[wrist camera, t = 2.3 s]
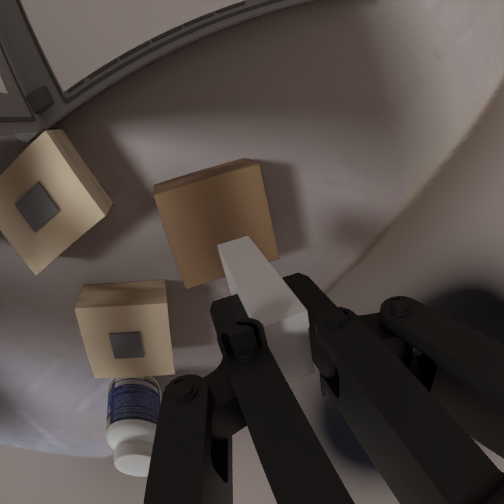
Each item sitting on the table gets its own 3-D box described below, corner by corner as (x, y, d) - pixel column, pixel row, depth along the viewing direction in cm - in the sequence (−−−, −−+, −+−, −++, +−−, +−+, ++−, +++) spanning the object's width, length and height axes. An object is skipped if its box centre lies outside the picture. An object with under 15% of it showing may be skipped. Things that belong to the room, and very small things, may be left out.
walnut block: (181, 266, 26) (186, 289, 22) (154, 184, 23) (153, 195, 19) (262, 239, 27) (279, 258, 23) (243, 157, 24) (259, 163, 20)
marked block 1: (51, 254, 22) (35, 277, 18) (2, 188, 19) (-23, 200, 15) (113, 201, 22) (105, 217, 18) (63, 129, 19) (44, 130, 15)
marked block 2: (99, 349, 26) (94, 380, 23) (83, 283, 24) (73, 309, 20) (171, 345, 28) (175, 375, 24) (164, 278, 26) (167, 304, 22)
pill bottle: (101, 372, 27) (94, 453, 18) (152, 363, 28) (158, 446, 20) (120, 406, 29) (121, 482, 21) (166, 399, 30) (178, 476, 22)
